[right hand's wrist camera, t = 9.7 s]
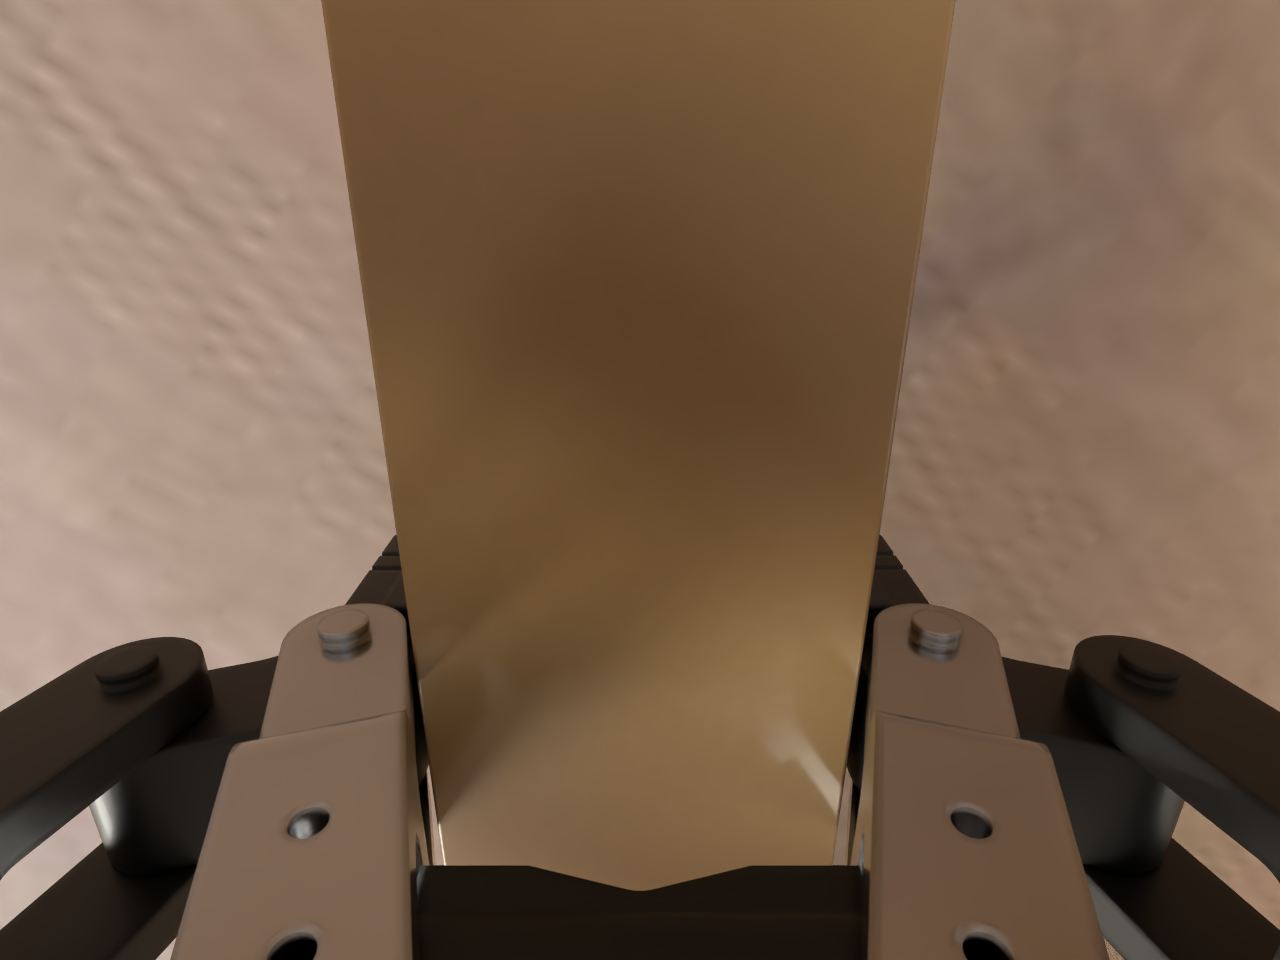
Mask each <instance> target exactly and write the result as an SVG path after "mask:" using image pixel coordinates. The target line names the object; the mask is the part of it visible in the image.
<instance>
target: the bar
mask: <svg viewBox="0 0 1280 960" xmlns="http://www.w3.org/2000/svg"><path fill="white" fill-rule="evenodd" d="M321 1H322V8H323V15H324V22H325V29H326V36H327V43H328V50H329V57H330V65H331V72H332V79H333V86H334V93H335V100H336V107H337V114H338V121H339V128H340V135H341V143H342V150H343V157H344V164H345V171H346V178H347V185H348V192H349V199H350V206H351V214H352V221H353V228H354V235H355V242H356V249H357V256H358V263H359V270H360V277H361V284H362V292H363V299H364V306H365V313H366V320H367V327H368V334H369V341H370V348H371V355H372V362H373V370H374V377H375V384H376V391H377V398H378V405H379V412H380V419H381V426H382V433H383V440H384V448H385V455H386V462H387V469H388V476H389V483H390V490H391V497H392V504H393V511H394V518H395V526H396V533H397V540H398V547H399V554H400V561H401V568H402V575H403V582H404V589H405V596H406V604H407V611H408V618H409V625H410V632H411V639H412V646H413V653H414V660H415V667H416V674H417V682H418V689H419V696H420V703H421V710H422V717H423V724H424V731H425V738H426V745H427V753H428V760H429V767H430V774H431V781H432V788H433V795H434V802H435V809H436V816H437V823H438V831H439V838H440V845H441V852H442V859H443V865H529V866H533V867H537V868H541V869H545V870H549V871H554V872H558V873H562V874H566V875H570V876H574V877H578V878H583V879H587V880H591V881H595V882H599V883H603V884H607V885H612V886H616V887H620V888H624V889H628V890H634V891H646V890H652V889H656V888H660V887H664V886H668V885H673V884H677V883H681V882H685V881H689V880H693V879H697V878H702V877H706V876H710V875H714V874H718V873H722V872H726V871H731V870H735V869H739V868H743V867H747V866H751V865H832V863H833V856H834V849H835V842H836V835H837V828H838V821H839V814H840V807H841V800H842V793H843V786H844V779H845V772H846V765H847V758H848V751H849V744H850V737H851V730H852V723H853V716H854V709H855V702H856V695H857V688H858V680H859V673H860V666H861V659H862V652H863V645H864V638H865V631H866V624H867V617H868V610H869V603H870V596H871V589H872V582H873V575H874V568H875V561H876V554H877V547H878V540H879V533H880V526H881V519H882V512H883V505H884V498H885V491H886V484H887V477H888V470H889V463H890V456H891V449H892V442H893V434H894V427H895V420H896V413H897V406H898V399H899V392H900V385H901V378H902V371H903V364H904V357H905V350H906V343H907V336H908V329H909V322H910V315H911V308H912V301H913V294H914V287H915V280H916V273H917V266H918V259H919V252H920V245H921V238H922V231H923V224H924V217H925V210H926V203H927V195H928V188H929V181H930V174H931V167H932V160H933V153H934V146H935V139H936V132H937V125H938V118H939V111H940V104H941V97H942V90H943V83H944V76H945V69H946V62H947V55H948V48H949V41H950V34H951V27H952V20H953V13H954V6H955V0H321Z"/></svg>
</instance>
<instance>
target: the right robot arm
mask: <svg viewBox="0 0 1280 960" xmlns="http://www.w3.org/2000/svg"><path fill="white" fill-rule="evenodd" d="M428 765H429V760H428V753H427V745H426V738H425V731H424V724H423V717H422V710H421V703H420V696H419V689H418V682H417V674H416V667H415V660H414V653H413V646H412V639H411V632H410V625H409V618H408V611H407V604H406V596H405V589H404V582H403V575H402V568H401V561H400V554H399V547H398V540H397V535H395V536H394V537H393V538H392V540H391V541H390V543H389V544H388V545H387V547H386V548H385V550H384V551H383V553H382V556H380V557H379V558H378V560H377V561H376V562H375V564H374V565H373V567H372V570H370V571H369V572H368V574H367V575H366V576H365V578H364V579H363V581H362V582H361V583H360V585H359V586H358V588H357V589H356V590H355V592H354V593H353V595H352V596H351V597H350V599H349V600H348V602H347V603H346V604H345V605H344V606H339V607H335V608H332V609H328V610H325V611H322V612H320V613H317V614H315V615H313V616H311V617H309V618H307V619H305V620H303V621H302V622H300V623H299V624H298V625H296V626H295V627H294V628H292V629H291V630H290V631H289V632H288V634H287V635H286V636H285V638H284V640H283V642H282V645H281V649H280V653H279V656H276V657H273V658H269V659H265V660H261V661H256V662H251V663H245V664H240V665H235V666H229V667H224V668H219V669H213V670H207V666H206V662H205V658H204V655H203V651H202V649H201V647H200V646H199V645H198V644H197V643H195V642H193V641H191V640H188V639H184V638H177V637H159V638H150V639H144V640H139V641H135V642H131V643H127V644H124V645H121V646H117V647H115V648H112V649H109V650H107V651H104V652H102V653H100V654H98V655H95V656H93V657H91V658H90V659H88V660H86V661H84V662H82V663H81V664H79V665H77V666H76V667H74V668H72V669H71V670H69V671H67V672H66V673H64V674H62V675H61V676H59V677H57V678H56V679H54V680H52V681H51V682H49V683H47V684H46V685H44V686H42V687H41V688H39V689H37V690H36V691H34V692H33V693H31V694H29V695H28V696H26V697H24V698H23V699H21V700H19V701H18V702H16V703H14V704H13V705H11V706H9V707H8V708H6V709H4V710H3V711H1V712H0V880H1V879H2V877H3V876H4V875H5V874H6V873H7V872H8V871H9V870H10V868H12V867H13V866H14V865H15V864H16V863H17V862H18V861H20V860H21V859H22V858H24V857H25V856H26V855H27V854H29V853H30V852H31V851H32V850H34V849H35V848H36V847H37V846H39V845H40V844H41V843H42V842H44V841H45V840H46V839H47V838H49V837H50V836H51V835H52V834H54V833H55V832H56V831H57V830H59V829H60V828H61V827H63V826H64V825H65V824H66V823H68V822H69V821H70V820H71V819H73V818H74V817H75V816H76V815H78V814H79V813H80V812H81V811H83V810H84V809H85V808H86V807H88V806H89V807H90V810H91V812H92V815H93V818H94V820H95V823H96V826H97V828H98V831H99V834H100V837H101V839H102V842H103V843H101V844H100V845H99V846H98V847H97V848H96V849H94V850H93V851H92V852H91V853H90V854H89V855H87V856H86V857H85V858H84V859H83V860H82V861H80V862H79V863H78V864H77V865H76V866H75V867H73V868H72V869H71V870H70V871H69V872H68V873H66V874H65V875H64V876H63V877H62V878H61V879H59V880H58V881H57V882H56V883H55V884H54V885H52V886H51V887H50V888H49V889H48V890H47V891H45V892H44V893H43V894H42V895H41V896H40V897H38V898H37V899H36V900H35V901H34V902H33V903H31V904H30V905H29V906H28V907H27V908H26V909H24V910H23V911H22V912H21V913H20V914H19V915H17V916H16V917H15V918H14V919H13V920H12V921H10V922H9V923H8V924H7V925H6V926H5V927H3V928H2V929H1V930H0V960H156V959H157V957H158V956H159V955H160V954H161V953H162V952H163V951H164V950H165V949H166V948H167V947H168V945H169V944H170V943H171V942H172V941H173V940H174V939H175V938H176V937H177V938H176V942H175V945H174V949H173V952H172V956H171V959H170V960H1110V959H1109V956H1108V952H1107V949H1106V945H1105V942H1104V938H1105V939H1106V940H1107V941H1108V942H1109V943H1110V944H1111V946H1112V947H1113V948H1114V949H1115V950H1116V951H1117V952H1118V953H1119V954H1120V955H1121V956H1122V957H1123V959H1124V960H1280V930H1279V929H1278V928H1276V927H1275V926H1274V925H1273V924H1272V923H1271V922H1270V921H1268V920H1267V919H1266V918H1265V917H1264V916H1263V915H1261V914H1260V913H1259V912H1258V911H1257V910H1256V909H1254V908H1253V907H1252V906H1251V905H1250V904H1249V903H1247V902H1246V901H1245V900H1244V899H1243V898H1242V897H1240V896H1239V895H1238V894H1237V893H1236V892H1235V891H1233V890H1232V889H1231V888H1230V887H1229V886H1228V885H1226V884H1225V883H1224V882H1223V881H1222V880H1221V879H1219V878H1218V877H1217V876H1216V875H1215V874H1214V873H1212V872H1211V871H1210V870H1209V869H1208V868H1207V867H1205V866H1204V865H1203V864H1202V863H1201V862H1200V861H1198V860H1197V859H1196V858H1195V857H1194V856H1193V855H1191V854H1190V853H1189V852H1188V851H1187V850H1186V849H1184V848H1183V847H1182V846H1181V845H1180V844H1179V843H1177V842H1176V841H1175V840H1174V839H1173V838H1172V834H1173V832H1174V829H1175V826H1176V823H1177V821H1178V818H1179V815H1180V812H1181V810H1182V807H1183V804H1184V801H1186V802H1187V803H1189V804H1190V805H1191V806H1192V807H1194V808H1195V809H1196V810H1197V811H1199V812H1200V813H1201V814H1202V815H1204V816H1205V817H1206V818H1207V819H1209V820H1210V821H1211V822H1212V823H1214V824H1215V825H1216V826H1217V827H1219V828H1220V829H1221V830H1222V831H1224V832H1225V833H1226V834H1228V835H1229V836H1230V837H1231V838H1233V839H1234V840H1235V841H1236V842H1238V843H1239V844H1240V845H1241V846H1243V847H1244V848H1245V849H1246V850H1248V851H1249V852H1250V853H1251V854H1253V855H1254V856H1255V857H1256V858H1258V859H1259V860H1260V861H1261V862H1262V863H1263V864H1265V865H1266V867H1267V868H1268V869H1269V870H1270V871H1271V872H1272V873H1273V874H1274V876H1275V877H1276V878H1277V880H1278V881H1279V883H1280V712H1279V711H1277V710H1276V709H1274V708H1272V707H1271V706H1269V705H1267V704H1266V703H1264V702H1262V701H1261V700H1259V699H1257V698H1256V697H1254V696H1252V695H1251V694H1249V693H1247V692H1246V691H1244V690H1242V689H1241V688H1239V687H1238V686H1236V685H1234V684H1233V683H1231V682H1229V681H1228V680H1226V679H1224V678H1223V677H1221V676H1219V675H1218V674H1216V673H1214V672H1213V671H1211V670H1209V669H1208V668H1206V667H1204V666H1203V665H1201V664H1199V663H1198V662H1196V661H1194V660H1193V659H1191V658H1189V657H1187V656H1185V655H1183V654H1181V653H1179V652H1177V651H1175V650H1173V649H1170V648H1167V647H1165V646H1162V645H1159V644H1156V643H1153V642H1149V641H1146V640H1141V639H1137V638H1132V637H1126V636H1115V635H1102V636H1094V637H1090V638H1086V639H1084V640H1083V641H1081V642H1080V643H1079V644H1077V645H1076V648H1075V650H1074V654H1073V657H1072V661H1071V665H1070V669H1069V670H1066V669H1061V668H1055V667H1050V666H1045V665H1039V664H1034V663H1029V662H1023V661H1018V660H1013V659H1009V658H1005V657H1001V653H1000V649H999V645H998V642H997V640H996V638H995V636H994V635H993V634H992V632H991V631H989V630H988V629H987V628H986V627H985V626H984V625H982V624H981V623H980V622H978V621H976V620H975V619H973V618H971V617H969V616H967V615H965V614H963V613H960V612H958V611H955V610H952V609H948V608H945V607H941V606H936V605H930V604H929V603H928V601H927V600H926V598H925V597H924V595H923V594H922V593H921V591H920V590H919V588H918V587H917V586H916V584H915V583H914V581H913V580H912V578H911V577H910V576H909V574H908V573H907V571H906V570H903V566H902V564H901V563H900V561H899V560H898V558H897V557H896V556H893V551H892V550H891V549H890V547H889V546H888V544H887V543H886V541H885V540H884V539H883V537H882V536H881V535H880V534H879V540H878V547H877V554H876V561H875V568H874V575H873V582H872V589H871V596H870V603H869V610H868V617H867V624H866V631H865V638H864V645H863V652H862V659H861V666H860V673H859V680H858V688H857V695H856V702H855V709H854V716H853V723H852V730H851V737H850V744H849V751H848V758H847V768H848V771H849V774H850V776H851V778H852V784H851V791H850V798H849V811H848V826H847V840H846V854H845V865H751V866H747V867H743V868H739V869H735V870H731V871H726V872H722V873H718V874H714V875H710V876H706V877H702V878H697V879H693V880H689V881H685V882H681V883H677V884H673V885H668V886H664V887H660V888H656V889H652V890H646V891H634V890H628V889H624V888H620V887H616V886H612V885H607V884H603V883H599V882H595V881H591V880H587V879H583V878H578V877H574V876H570V875H566V874H562V873H558V872H554V871H549V870H545V869H541V868H537V867H533V866H529V865H435V855H434V841H433V826H432V812H431V798H430V791H429V784H428V777H427V768H428ZM1103 937H1104V938H1103Z"/></svg>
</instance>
